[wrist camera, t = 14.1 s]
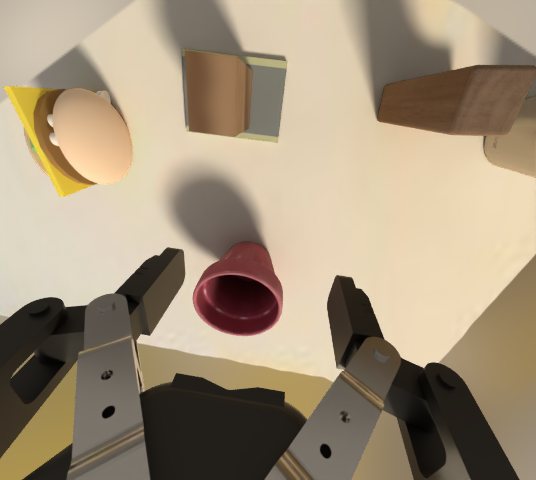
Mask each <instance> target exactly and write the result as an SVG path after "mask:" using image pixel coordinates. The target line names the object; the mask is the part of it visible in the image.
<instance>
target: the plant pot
mask: <svg viewBox="0 0 536 480" xmlns="http://www.w3.org/2000/svg"><path fill="white" fill-rule="evenodd" d="M193 304H194V307H195V310H196V312H197V313H198V315H199V316H200V317H201V319H202V320H203V321H204V322H206V323H207V324H208V325H209V326H211V327H213V328H214V329H216V330H219V331H221V332H224V333H227V334H231V335H237V336H251V335H256V334H260V333H263V332H265V331H267V330H269V329H270V328H272V327H273V326H274V325H275V324H276V323H277V321H278V320H279V318H280V316H281V313H282V305H283V290H282V286H281V283H280V281H279V279H278V278H277V276H276V275H275V273H274V269H273V265H272V262H271V258H270V255H269V253H268V252H267V251H266V250H265V249H264V248H263V247H262V246H260V245H258V244H256V243H252V242H242V243H238V244H236V245H234V246H233V247H232V248H231V249H230V250H229V251H228V252H227V253H226V254H225V255H224V256H223V257H222V258H221V259H220V260H219V261H217V262H215V263H214V264H212V265H211V266H209V267H208V268H207V269H206V270H205V271H204V273H203V274H202V276H201V278H200V280H199V282H198V284H197V285H196V288H195V290H194V293H193Z"/></svg>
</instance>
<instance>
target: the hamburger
mask: <svg viewBox="0 0 536 480" xmlns="http://www.w3.org/2000/svg"><path fill="white" fill-rule="evenodd" d="M4 88H5V90H6V92H7V94H8V96H9V98H10V100H11V102H12V104H13V106H14V108H15V110H16V112H17V114H18V116H19V118H20V120H21V122H22V124H23V126H24V134H25V139H26V143H27V146H28V148H29V151H30V153H31V155H32V157H33V159H34V160H35V162H36V163H37V165H38V166H39V167H40V168H41V170H42V171H43V172H44V173H45V174H46V175H47V176H49V177H50V179H51V181H52V183H53V185H54V187H55V189H56V191H57V193H58V195H59V197H65V196H67V195H70V194H72V193H75V192H77V191H80V190H82V189H85V188H87V187H90V186H92V185H94V184H112V183H115V182H117V181H119V180H121V179H122V178H123V177H125V176H126V174H127V173H128V170H129V168H130V166H131V162H132V154H133V152H132V142H131V138H130V134H129V132H128V129H127V127H126V125H125V123H124V121H123V119H122V118H121V116H120V115H119V113H118V112H117V111H116V109H115V108H114V107H113V106H112V105H111V99H110V95H109V93H108V92H107V91H105V90H104V91H97V92H96V93H94V92H92V91H89V90H86V89H81V88H71V89H68V90H66V89H45V88H30V87H15V86H7V87H4Z"/></svg>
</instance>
